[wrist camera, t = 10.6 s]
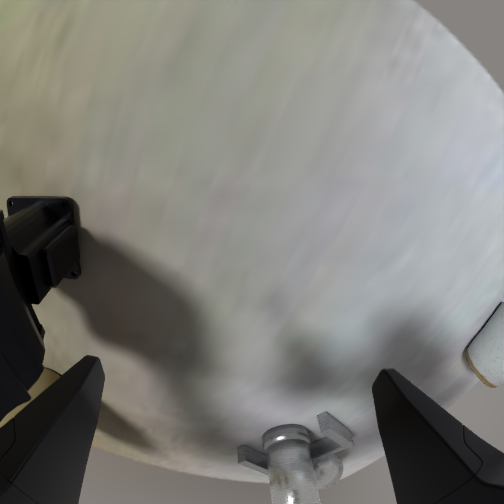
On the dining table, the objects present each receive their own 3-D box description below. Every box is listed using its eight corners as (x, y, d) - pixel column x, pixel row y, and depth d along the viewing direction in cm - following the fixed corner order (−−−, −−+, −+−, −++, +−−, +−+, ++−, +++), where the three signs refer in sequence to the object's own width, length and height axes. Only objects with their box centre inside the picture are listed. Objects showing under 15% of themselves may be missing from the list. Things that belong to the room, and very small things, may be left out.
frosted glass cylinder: (259, 445, 34) (268, 532, 22) (265, 425, 31) (277, 523, 20) (301, 443, 34) (317, 526, 23) (313, 422, 32) (334, 516, 20)
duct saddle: (237, 447, 34) (239, 485, 28) (325, 411, 31) (337, 453, 25) (283, 468, 38) (288, 499, 33) (359, 437, 35) (370, 471, 30)
